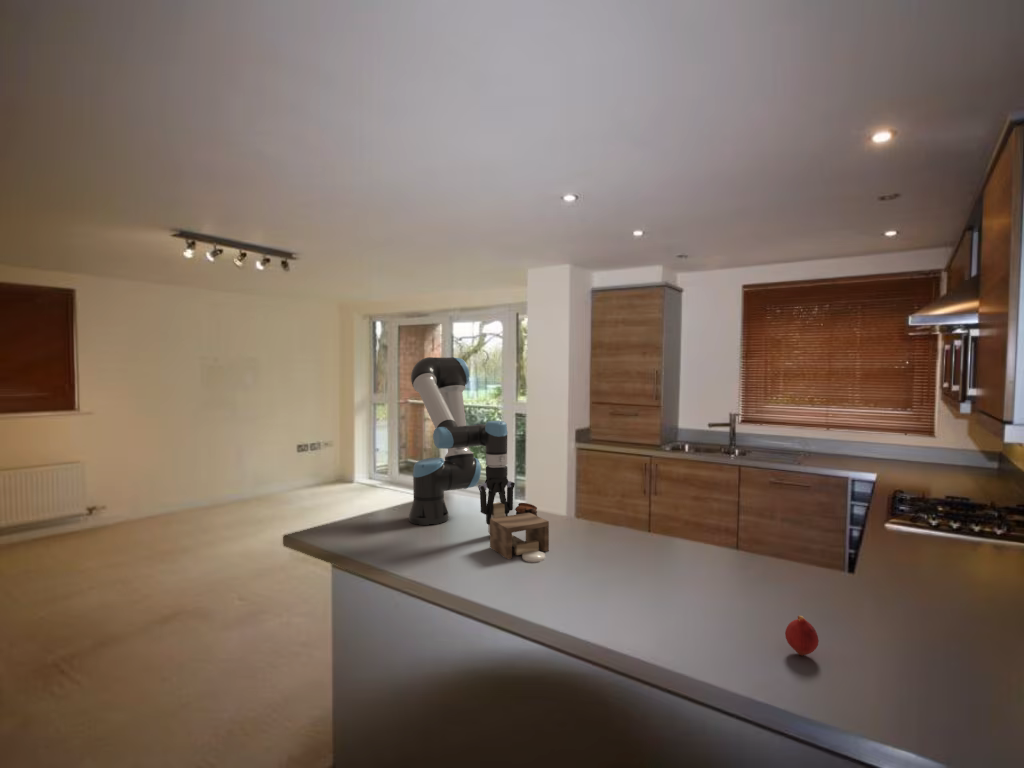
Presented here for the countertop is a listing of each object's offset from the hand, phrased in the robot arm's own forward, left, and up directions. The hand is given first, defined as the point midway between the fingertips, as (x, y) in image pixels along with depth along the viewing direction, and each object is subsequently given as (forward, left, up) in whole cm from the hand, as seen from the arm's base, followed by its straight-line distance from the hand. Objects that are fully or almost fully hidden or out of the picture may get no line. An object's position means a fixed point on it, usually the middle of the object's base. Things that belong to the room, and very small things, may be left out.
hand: (497, 532), depth 181 cm
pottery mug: (-9, +17, -2) cm, 20 cm away
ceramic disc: (+24, 0, -2) cm, 25 cm away
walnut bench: (+16, 0, -1) cm, 16 cm away
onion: (+98, +19, -2) cm, 99 cm away
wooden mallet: (+9, 0, -1) cm, 10 cm away
